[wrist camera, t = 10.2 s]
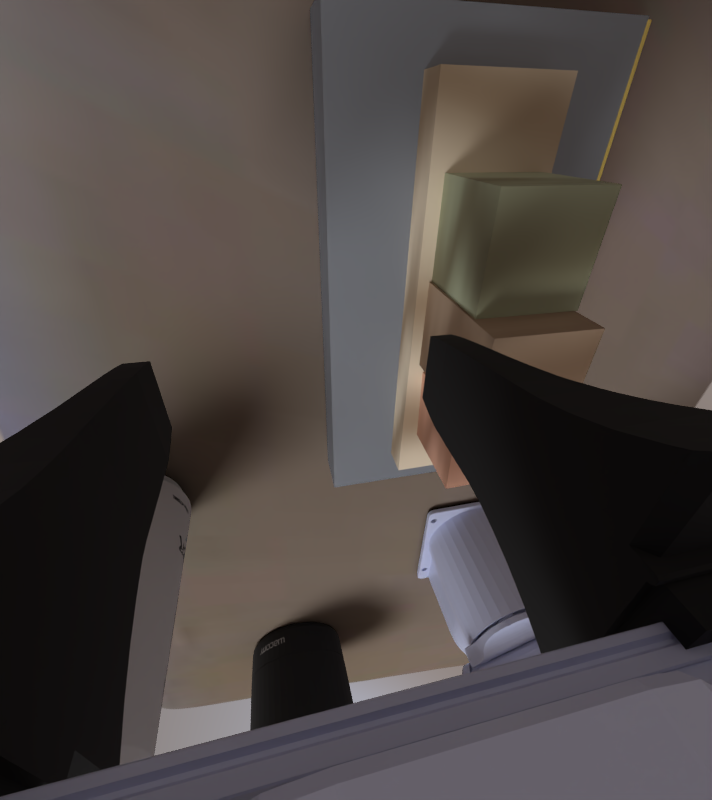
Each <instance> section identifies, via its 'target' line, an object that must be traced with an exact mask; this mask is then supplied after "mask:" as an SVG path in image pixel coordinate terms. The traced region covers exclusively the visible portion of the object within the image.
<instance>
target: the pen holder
mask: <svg viewBox="0 0 712 800" xmlns="http://www.w3.org/2000/svg"><path fill="white" fill-rule="evenodd" d="M349 704H353V701H352V696H351V691H350V686H349V681H348V677H347V672H346V667H345V663H344V658H343V654H342V649H341V645H340V641H339V637H338V634H337V633H336V631H335V630H333V629H332V628H331V627H330V626H328V625H325V624H322V623H314V622H307V623H298V624H293V625H289V626H286V627H283V628H280V629H278V630H275V631H273V632H272V633H270V634H268V635H267V636H265V637H264V638H263V639H262V640H261V641H260V642H259V643H258V645H257V647H256V648H255V650H254V655H253V672H252V697H251V730H254V729H258V728H262V727H266V726H270V725H273V724H277V723H281V722H285V721H288V720H292V719H296V718H300V717H304V716H307V715H311V714H315V713H319V712H323V711H326V710H330V709H334V708H338V707H341V706H345V705H349Z"/></svg>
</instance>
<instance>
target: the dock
mask: <svg viewBox="0 0 712 800" xmlns="http://www.w3.org/2000/svg"><path fill="white" fill-rule="evenodd" d="M648 18H649V16H647V15H635V14H622V13H610V12H597V11H585V10H572V9H560V8H547V7H535V6H522V5H510V4H497V3H485V2H472V1H460V0H314V2H313V4H312V6H311V8H310V19H311V44H312V69H313V95H314V120H315V145H316V170H317V195H318V220H319V245H320V270H321V295H322V320H323V345H324V370H325V396H326V421H327V446H328V462H329V466H330V471H331V475H332V479H333V483H334V487H340V486H346V485H352V484H359V483H365V482H371V481H378V480H384V479H390V478H397V477H403V476H409V475H416V474H422V473H428V472H434V471H436V469H435V467H434V465H429V466H423V467H416V468H410V469H404V470H398V468H397V466H396V463H395V461H394V459H393V456H392V454H391V448H392V436H393V425H394V413H395V402H396V390H397V378H398V367H399V355H400V344H401V332H402V320H403V309H404V297H405V286H406V274H407V262H408V251H409V239H410V228H411V216H412V204H413V193H414V181H415V170H416V158H417V146H418V135H419V123H420V112H421V100H422V88H423V77H424V69H427V68H430V67H434V66H437V65H440V64H450V65H470V66H491V67H512V68H533V69H554V70H575V71H578V73H577V77H576V81H575V85H574V88H573V92H572V96H571V100H570V104H569V108H568V112H567V115H566V119H565V123H564V127H563V131H562V135H561V138H560V142H559V146H558V150H557V154H556V158H555V162H554V165H553V169H552V173H553V174H559V175H566V176H572V177H578V178H585V179H591V180H597V181H600V178H601V175H602V172H603V169H604V166H605V162H606V159H607V156H608V153H609V150H610V147H611V144H612V141H613V138H614V135H615V132H616V129H617V125H618V122H619V119H620V116H621V113H622V110H623V107H624V104H625V101H626V98H627V95H628V91H629V88H630V85H631V82H632V79H633V76H634V73H635V70H636V67H637V64H638V61H639V58H640V54H641V51H642V48H643V45H644V42H645V39H646V36H647V33H648V30H649V27H650V24H651V20H649V19H648Z"/></svg>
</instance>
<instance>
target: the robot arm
mask: <svg viewBox="0 0 712 800" xmlns="http://www.w3.org/2000/svg"><path fill="white" fill-rule="evenodd" d="M422 398H423V401H424V403H425V406H426V408H427V411H428V413H429V416H430V418H431V420H432V422H433V425H434V427H435V428H436V430H437V432H438V433H439V435H440V437H441V438H442V440H443V442H444V443H445V445H446V447H447V448H448V450H449V452H450V453H451V455H452V456H453V458H454V460H455V461H456V463H457V464H458V466H459V468H460V469H461V471H462V473H463V474H464V476H465V477H466V479H467V481H468V482H469V484H470V486H471V487H472V489H473V491H474V493H475V495H476V496H477V498H478V500H479V502H475V503H469V504H464V505H458V506H452V507H447V508H441V509H435V510H431V511H430V512H429V513H428V515H427V520H426V526H425V531H424V537H423V542H422V548H421V553H420V559H419V565H418V570H417V575H418V578H427V577H429V580H430V582H431V585H432V587H433V590H434V592H435V595H436V597H437V600H438V602H439V605H440V607H441V610H442V613H443V615H444V618H445V620H446V623H447V625H448V628H449V630H450V633H451V635H452V637H453V639H454V641H455V643H456V644H457V645H458V647H459V648H460V649H461V650H462V651H463V652H464V653H465V654H466V655H467V657H468V660H469V662H470V663H468V664H466V665H464V666H463V670H462V675H459V676H455V677H451V678H448V679H444V680H440V681H436V682H432V683H429V684H425V685H421V686H417V687H414V688H410V689H406V690H403V691H398V692H395V693H391V694H387V695H383V696H379V697H376V698H372V699H368V700H364V701H360V702H357V703H353V704H349V705H345V706H341V707H338V708H334V709H330V710H326V711H323V712H319V713H315V714H311V715H307V716H304V717H300V718H296V719H292V720H288V721H285V722H281V723H277V724H273V725H270V726H266V727H262V728H258V729H254V730H251V731H247V732H243V733H239V734H236V735H232V736H228V737H224V738H220V739H217V740H213V741H209V742H206V743H202V744H198V745H194V746H190V747H186V748H183V749H179V750H175V751H171V752H167V753H164V754H160V755H156V756H152V757H148V758H145V759H141V760H137V761H133V762H130V763H126V764H122V765H120V754H121V741H122V728H123V715H124V702H125V692H126V682H127V673H128V663H129V653H130V644H131V636H132V628H133V621H134V613H135V605H136V598H137V591H138V585H139V579H140V572H141V566H142V559H143V555H144V550H145V546H146V541H147V537H148V534H149V530H150V527H151V523H152V519H153V516H154V512H155V509H156V505H157V501H158V498H159V494H160V491H161V487H162V483H163V480H164V476H165V472H166V468H167V464H168V460H169V452H170V443H171V432H172V426H171V423H170V420H169V417H168V414H167V411H166V408H165V405H164V402H163V399H162V396H161V393H160V390H159V387H158V384H157V381H156V378H155V375H154V372H153V369H152V366H151V363H150V361H149V362H138V363H126V364H121V365H119V366H117V367H116V368H114V369H112V370H111V371H109V372H108V373H106V374H105V375H103V376H102V377H100V378H99V379H97V380H96V381H94V382H93V383H91V384H90V385H89V386H87V387H86V388H84V389H83V390H81V391H80V392H78V393H77V394H76V395H74V396H73V397H71V398H70V399H68V400H67V401H65V402H64V403H63V404H61V405H60V406H58V407H57V408H55V409H54V410H52V411H50V412H49V413H47V414H46V415H44V416H43V417H41V418H39V419H38V420H36V421H35V422H33V423H32V424H30V425H28V426H27V427H25V428H24V429H22V430H21V431H19V432H18V433H16V434H14V435H13V436H11V437H9V438H8V439H6V440H4V441H2V442H1V443H0V800H712V411H711V410H705V409H699V408H693V407H686V406H680V405H674V404H668V403H663V402H657V401H652V400H647V399H643V398H638V397H634V396H629V395H625V394H620V393H616V392H612V391H608V390H604V389H600V388H597V387H593V386H590V385H586V384H583V383H580V382H576V381H573V380H569V379H566V378H563V377H560V376H557V375H555V374H552V373H549V372H546V371H544V370H541V369H538V368H536V367H533V366H530V365H528V364H525V363H523V362H520V361H518V360H515V359H513V358H511V357H508V356H506V355H504V354H501V353H499V352H497V351H494V350H492V349H490V348H487V347H485V346H482V345H480V344H478V343H475V342H473V341H470V340H468V339H465V338H462V337H459V336H456V335H452V334H449V335H438V336H430V343H429V351H428V358H427V366H426V374H425V381H424V389H423V396H422Z"/></svg>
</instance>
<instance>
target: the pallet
mask: <svg viewBox="0 0 712 800" xmlns="http://www.w3.org/2000/svg"><path fill="white" fill-rule="evenodd" d="M577 73H578V71H575V70H554V69H533V68H512V67H491V66H470V65H450V64H440V65H437V66H434V67H430V68H427V69H424V77H423V88H422V100H421V112H420V123H419V135H418V146H417V158H416V170H415V181H414V193H413V204H412V216H411V228H410V239H409V251H408V262H407V274H406V286H405V297H404V309H403V320H402V332H401V344H400V355H399V367H398V378H397V390H396V402H395V413H394V425H393V436H392V448H391V454H392V456H393V459H394V461H395V463H396V466H397V468H398V470H404V469H410V468H416V467H423V466H429V465H433V464H432V462H431V460H430V458H429V456H428V454H427V453H426V451H425V449H424V447H423V445H422V443H421V441H420V440H419V438H418V436H417V427H418V417H419V406H420V396H421V385H422V374H423V372H425V373H426V366H427V358H428V351H429V343H430V336H438V335H449V334H452V335H456V336H459V337H462V338H465V339H468V340H470V341H473V342H475V343H478V344H480V345H482V346H485V347H487V348H490V349H492V350H494V351H497V352H499V353H501V354H504V355H506V356H508V357H511V358H513V359H515V360H518V361H520V362H523V363H525V364H528V365H530V366H533V367H536V368H538V369H541V370H544V371H546V372H549V373H552V374H555V375H557V376H560V377H563V378H566V379H569V380H573V381H576V382H580V383H583V381H584V379H585V376H586V374H587V372H588V369H589V367H590V364H591V362H592V359H593V357H594V354H595V352H596V350H597V347H598V345H599V342H600V340H601V337H602V335H603V332H604V330H605V328H603V327H602V326H600V325H598V324H596V323H595V322H593V321H591V320H589V319H588V318H586V317H584V316H582V315H581V314H579V313H577V312H575V311H567V312H556V313H544V314H532V315H521V316H509V317H498V318H486V319H474V318H473V317H472V316H471V315H470V314H468V313H467V312H466V311H465V310H464V309H463V308H461V307H460V306H459V305H458V304H457V303H456V302H455V301H453V300H452V299H451V298H450V297H449V296H448V295H446V294H445V293H444V292H443V291H442V290H441V289H439V288H438V287H437V286H436V285H435V284H434V283H432V276H433V267H434V259H435V251H436V243H437V235H438V226H439V218H440V210H441V202H442V193H443V185H444V177H445V173H486V172H547V173H552V169H553V165H554V162H555V158H556V154H557V150H558V146H559V142H560V138H561V135H562V131H563V127H564V123H565V119H566V115H567V112H568V108H569V104H570V100H571V96H572V92H573V88H574V85H575V81H576V77H577Z"/></svg>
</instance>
